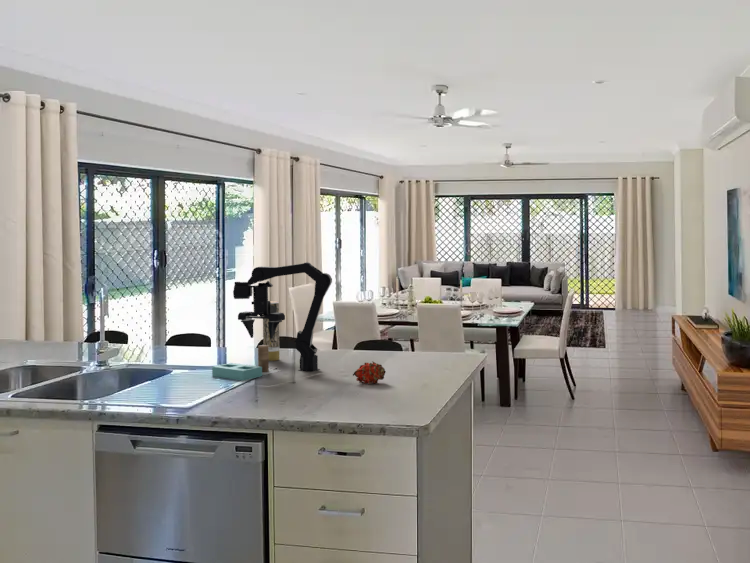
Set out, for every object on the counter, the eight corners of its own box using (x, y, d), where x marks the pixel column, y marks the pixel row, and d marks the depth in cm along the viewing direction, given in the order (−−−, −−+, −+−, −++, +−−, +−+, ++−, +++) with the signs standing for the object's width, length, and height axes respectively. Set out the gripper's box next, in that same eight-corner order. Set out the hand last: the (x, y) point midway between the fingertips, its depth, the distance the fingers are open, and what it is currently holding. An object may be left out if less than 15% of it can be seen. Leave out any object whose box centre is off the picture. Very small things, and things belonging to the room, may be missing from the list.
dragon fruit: (388, 387, 270) (355, 393, 269) (384, 370, 276) (352, 376, 275) (387, 371, 265) (353, 377, 263) (383, 354, 271) (350, 360, 270)
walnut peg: (270, 371, 293) (270, 345, 292) (263, 372, 289) (263, 346, 289) (263, 370, 295) (262, 344, 294) (256, 371, 292) (255, 346, 291)
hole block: (262, 377, 283) (261, 366, 282) (243, 381, 274) (243, 370, 274) (231, 373, 291) (231, 362, 291) (212, 377, 283) (212, 366, 283)
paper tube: (276, 361, 317) (275, 302, 316) (261, 361, 319) (260, 302, 317) (281, 358, 324) (281, 301, 323) (266, 358, 325) (265, 301, 324)
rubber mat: (281, 371, 294) (281, 370, 293) (264, 375, 285) (264, 374, 285) (262, 369, 299) (262, 368, 299) (245, 373, 291) (245, 372, 291)
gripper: (292, 297, 297) (293, 336, 298) (252, 296, 305) (254, 334, 306) (276, 299, 287) (277, 340, 288) (236, 298, 295) (237, 338, 296)
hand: (261, 338), depth 295 cm, fingers open, 9 cm apart
